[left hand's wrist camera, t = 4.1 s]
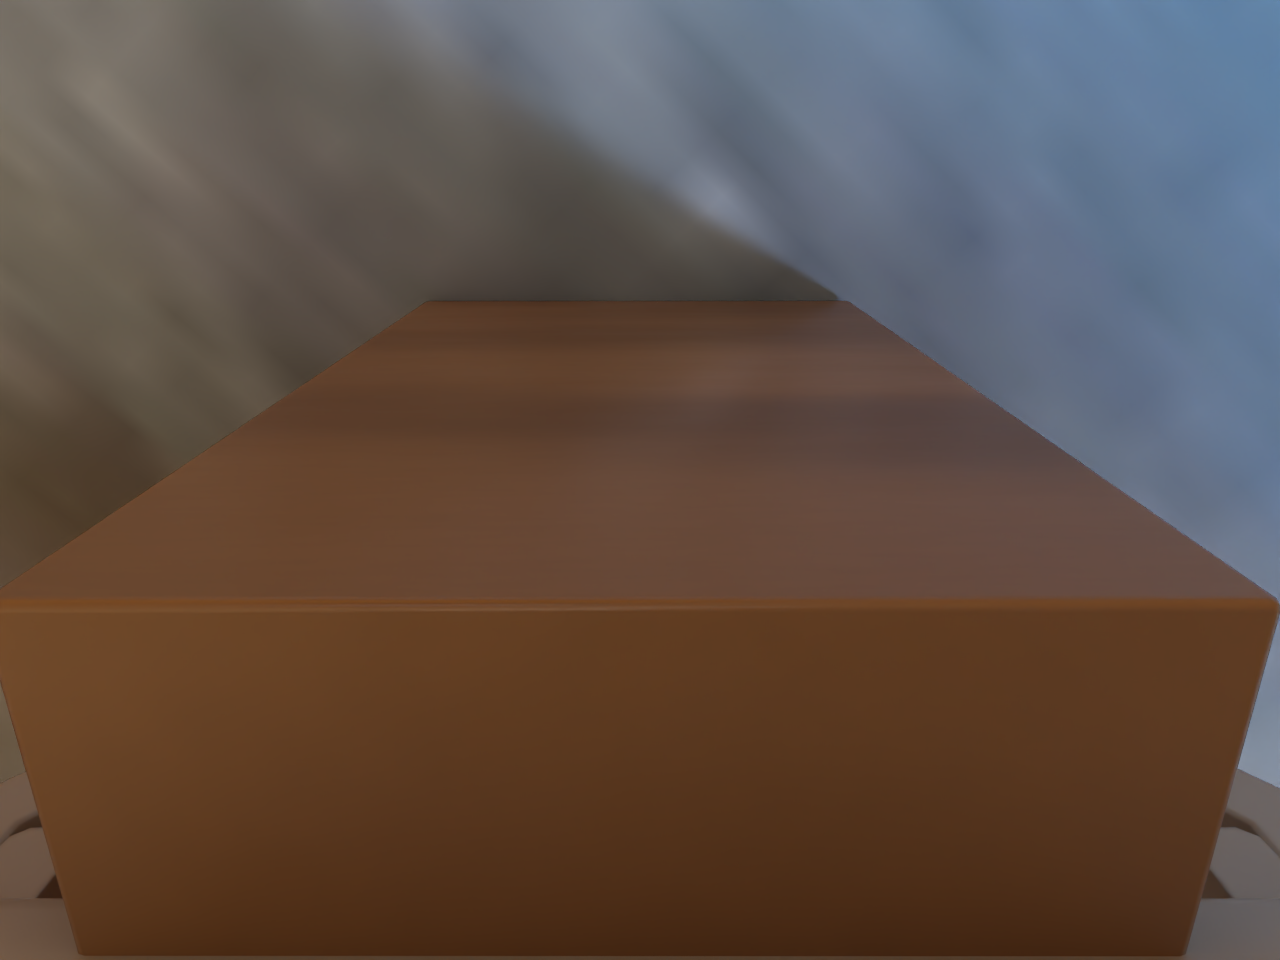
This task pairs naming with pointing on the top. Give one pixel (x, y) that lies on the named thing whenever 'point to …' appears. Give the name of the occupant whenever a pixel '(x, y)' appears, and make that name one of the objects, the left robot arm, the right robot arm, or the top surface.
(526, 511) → the bar
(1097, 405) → the top surface
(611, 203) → the top surface
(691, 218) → the top surface
